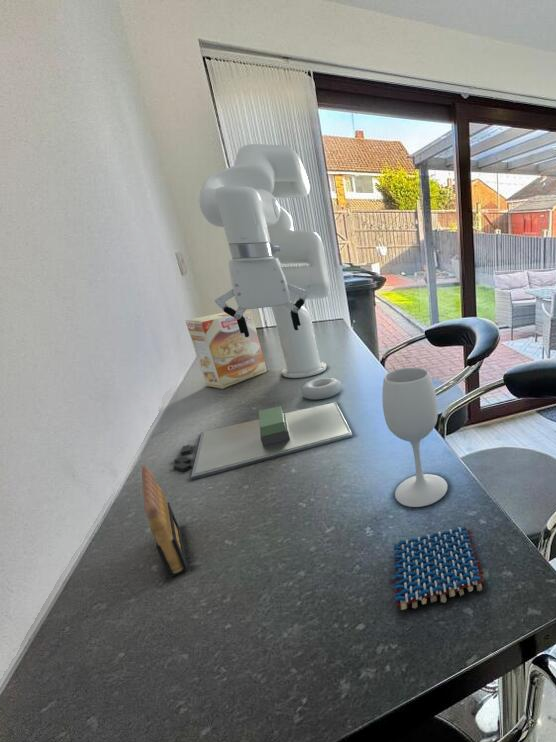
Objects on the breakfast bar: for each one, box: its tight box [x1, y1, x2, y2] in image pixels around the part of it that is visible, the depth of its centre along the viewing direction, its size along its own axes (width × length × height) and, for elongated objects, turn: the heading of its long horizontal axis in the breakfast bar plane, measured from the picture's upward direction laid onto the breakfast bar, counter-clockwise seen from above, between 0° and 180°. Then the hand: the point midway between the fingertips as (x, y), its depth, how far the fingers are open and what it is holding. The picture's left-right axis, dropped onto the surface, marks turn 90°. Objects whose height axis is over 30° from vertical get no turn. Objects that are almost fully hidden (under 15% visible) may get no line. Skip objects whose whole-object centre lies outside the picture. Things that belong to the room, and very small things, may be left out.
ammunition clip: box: [141, 465, 189, 578], centre depth 53 cm, size 11×2×12 cm, turn 42°
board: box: [190, 401, 354, 481], centre depth 86 cm, size 20×28×1 cm
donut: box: [300, 377, 342, 401], centre depth 107 cm, size 10×4×10 cm
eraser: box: [258, 405, 290, 446], centre depth 85 cm, size 10×5×4 cm, turn 31°
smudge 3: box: [173, 462, 193, 473], centre depth 75 cm, size 3×1×1 cm, turn 70°
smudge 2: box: [173, 455, 192, 464], centre depth 77 cm, size 3×1×1 cm, turn 66°
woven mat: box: [393, 526, 485, 611], centre depth 51 cm, size 10×11×2 cm
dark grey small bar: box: [180, 444, 193, 457], centre depth 81 cm, size 3×1×1 cm, turn 31°
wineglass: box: [381, 366, 448, 508], centre depth 63 cm, size 9×9×21 cm
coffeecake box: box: [185, 310, 268, 390], centre depth 117 cm, size 15×7×20 cm, turn 160°
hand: (272, 332), depth 89 cm, fingers open, 9 cm apart
